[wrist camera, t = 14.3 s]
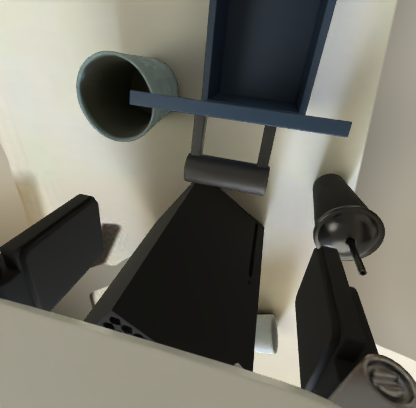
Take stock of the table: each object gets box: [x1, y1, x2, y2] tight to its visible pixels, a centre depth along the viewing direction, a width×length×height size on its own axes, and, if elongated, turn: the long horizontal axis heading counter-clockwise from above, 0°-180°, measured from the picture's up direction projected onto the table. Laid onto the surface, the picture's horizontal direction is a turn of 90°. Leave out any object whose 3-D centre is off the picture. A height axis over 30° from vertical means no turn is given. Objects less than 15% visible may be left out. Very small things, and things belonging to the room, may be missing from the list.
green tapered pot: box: [76, 51, 178, 142], centre depth 37 cm, size 10×10×12 cm
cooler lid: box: [130, 90, 352, 196], centre depth 24 cm, size 18×13×5 cm
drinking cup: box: [313, 174, 385, 276], centre depth 35 cm, size 8×8×20 cm
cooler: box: [202, 0, 337, 115], centre depth 32 cm, size 18×13×8 cm
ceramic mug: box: [254, 314, 278, 354], centre depth 59 cm, size 11×8×8 cm
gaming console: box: [84, 182, 264, 372], centre depth 39 cm, size 15×15×30 cm
